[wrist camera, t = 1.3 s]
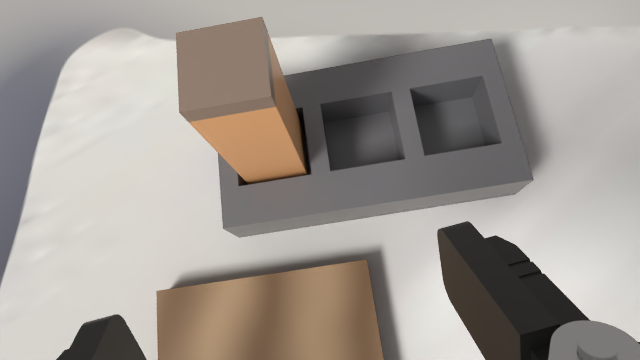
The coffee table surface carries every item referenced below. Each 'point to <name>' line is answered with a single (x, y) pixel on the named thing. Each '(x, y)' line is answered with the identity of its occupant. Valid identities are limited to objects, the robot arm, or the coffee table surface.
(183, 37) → the plug
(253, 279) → the rest pad
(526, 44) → the coffee table surface
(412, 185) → the grey compartment tray
